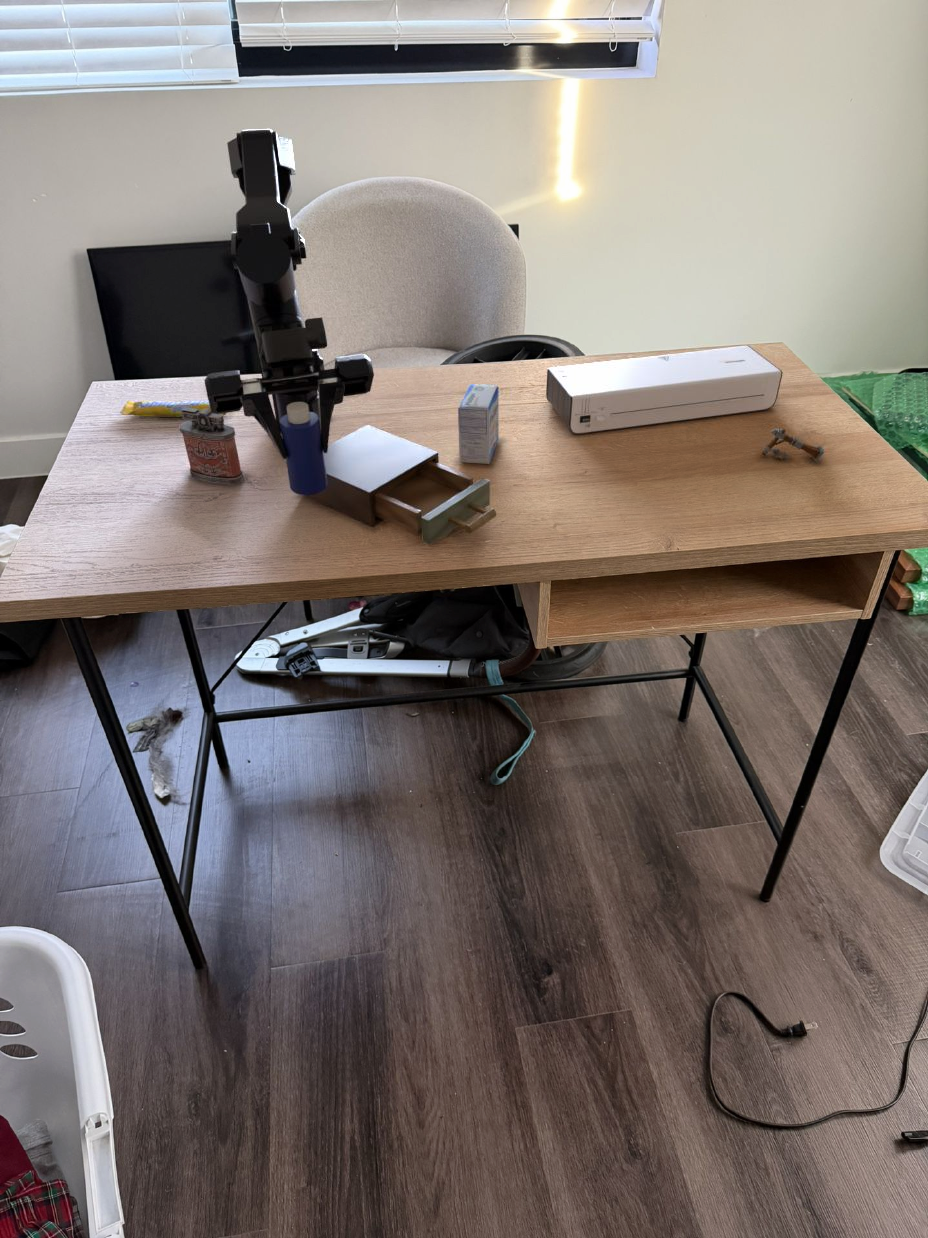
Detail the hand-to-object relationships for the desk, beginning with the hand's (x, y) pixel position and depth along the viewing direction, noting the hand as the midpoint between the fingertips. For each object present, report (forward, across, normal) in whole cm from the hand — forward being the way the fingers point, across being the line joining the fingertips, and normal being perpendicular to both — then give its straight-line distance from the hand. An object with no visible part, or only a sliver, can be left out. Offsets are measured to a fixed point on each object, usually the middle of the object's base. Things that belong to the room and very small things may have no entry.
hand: (305, 455), depth 98 cm
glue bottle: (+2, 0, +4) cm, 5 cm away
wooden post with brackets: (+8, +68, +10) cm, 69 cm away
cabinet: (+1, +9, +17) cm, 20 cm away
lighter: (-6, -11, +25) cm, 28 cm away
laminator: (-6, +58, +25) cm, 63 cm away
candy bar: (-22, -15, +41) cm, 49 cm away
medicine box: (-3, +26, +22) cm, 34 cm away
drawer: (+7, +16, +10) cm, 20 cm away
